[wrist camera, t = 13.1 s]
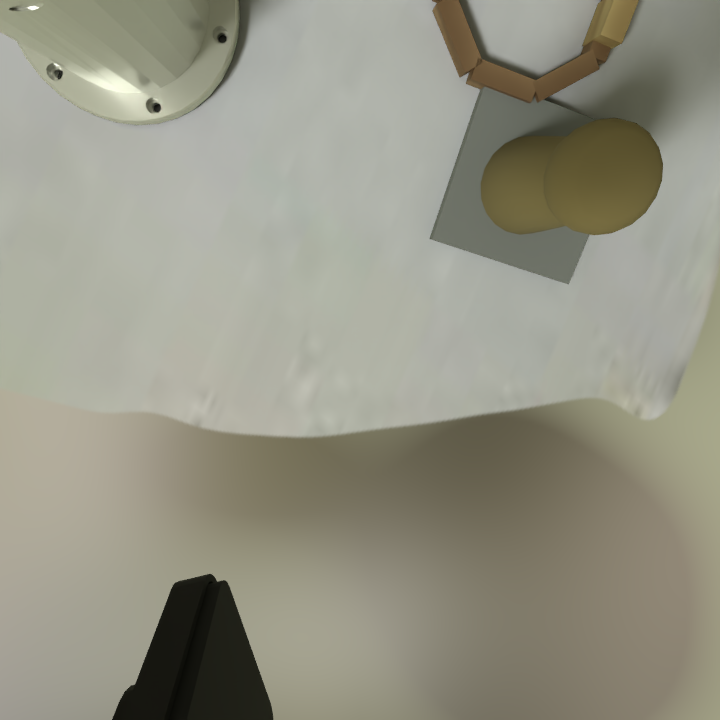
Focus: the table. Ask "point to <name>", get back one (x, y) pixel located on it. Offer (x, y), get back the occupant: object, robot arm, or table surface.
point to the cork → (573, 179)
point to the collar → (466, 57)
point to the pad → (463, 194)
